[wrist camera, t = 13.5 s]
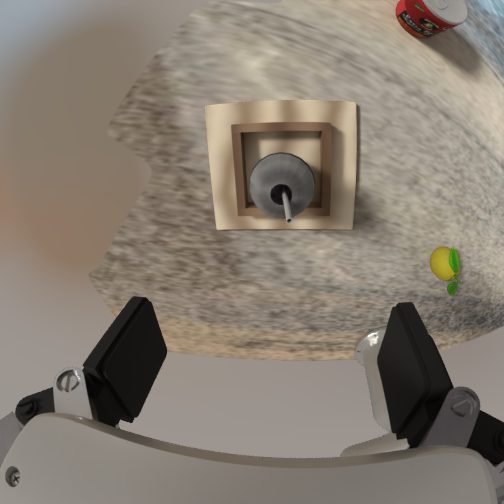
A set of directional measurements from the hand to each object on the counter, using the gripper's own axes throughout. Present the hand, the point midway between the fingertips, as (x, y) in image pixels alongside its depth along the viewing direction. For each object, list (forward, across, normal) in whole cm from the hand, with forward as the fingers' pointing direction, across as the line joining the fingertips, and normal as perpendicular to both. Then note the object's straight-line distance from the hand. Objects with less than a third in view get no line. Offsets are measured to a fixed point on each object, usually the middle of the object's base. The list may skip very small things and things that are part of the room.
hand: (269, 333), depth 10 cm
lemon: (+35, -29, +14) cm, 48 cm away
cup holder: (+35, 0, -1) cm, 35 cm away
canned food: (+35, -23, -28) cm, 50 cm away
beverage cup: (+34, 0, 0) cm, 34 cm away
